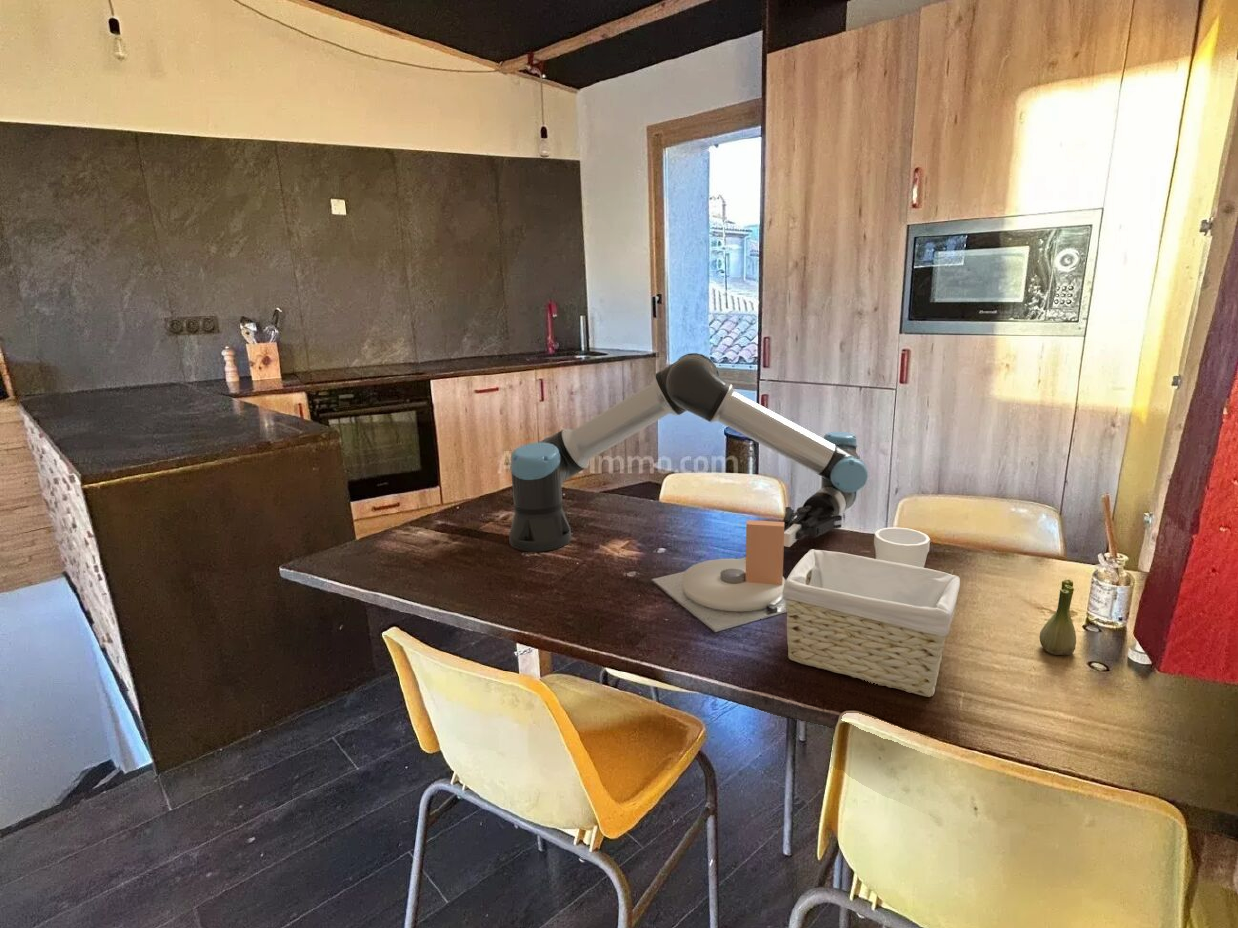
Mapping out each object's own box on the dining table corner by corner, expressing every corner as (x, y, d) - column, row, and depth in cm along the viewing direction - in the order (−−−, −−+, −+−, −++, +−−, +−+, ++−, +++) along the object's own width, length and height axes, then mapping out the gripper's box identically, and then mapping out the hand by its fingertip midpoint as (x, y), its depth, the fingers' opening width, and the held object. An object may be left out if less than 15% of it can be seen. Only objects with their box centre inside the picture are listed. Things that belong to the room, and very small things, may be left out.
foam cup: (924, 593, 127) (930, 530, 124) (923, 615, 119) (930, 548, 116) (872, 586, 131) (876, 525, 128) (868, 606, 123) (872, 541, 120)
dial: (674, 605, 124) (673, 536, 120) (691, 564, 143) (690, 502, 139) (783, 615, 119) (785, 543, 115) (785, 571, 137) (788, 507, 134)
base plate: (651, 581, 137) (651, 575, 136) (747, 559, 146) (747, 553, 146) (715, 632, 115) (715, 625, 115) (821, 602, 125) (822, 595, 125)
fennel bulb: (1058, 662, 103) (1069, 592, 100) (1028, 647, 107) (1038, 580, 104) (1082, 653, 105) (1093, 585, 102) (1052, 639, 110) (1062, 573, 106)
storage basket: (953, 655, 106) (962, 571, 102) (942, 709, 93) (952, 614, 89) (805, 621, 118) (809, 545, 114) (777, 665, 105) (779, 580, 101)
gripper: (851, 527, 148) (817, 563, 130) (795, 518, 156) (755, 551, 137) (853, 496, 147) (818, 528, 128) (796, 488, 154) (756, 517, 135)
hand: (786, 540), depth 133 cm, fingers closed
